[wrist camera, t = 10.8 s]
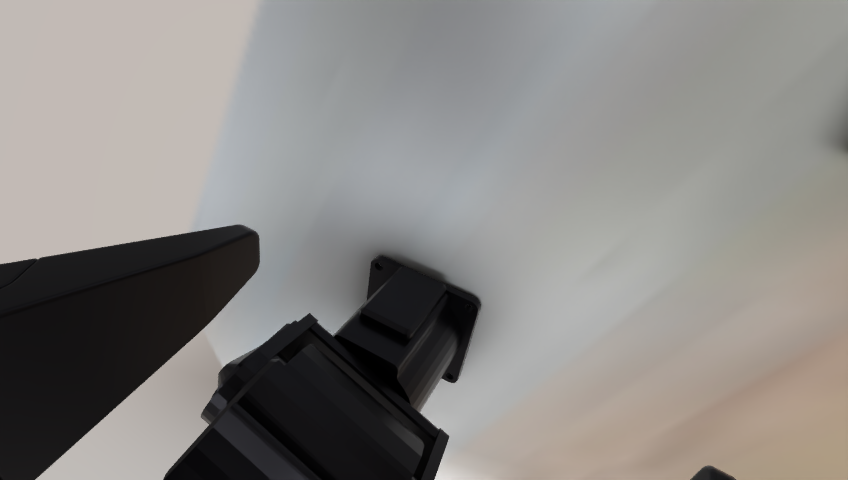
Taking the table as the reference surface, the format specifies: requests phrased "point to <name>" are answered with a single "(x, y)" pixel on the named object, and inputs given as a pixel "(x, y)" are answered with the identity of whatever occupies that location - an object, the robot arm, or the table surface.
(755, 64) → the table surface
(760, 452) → the table surface
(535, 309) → the table surface
